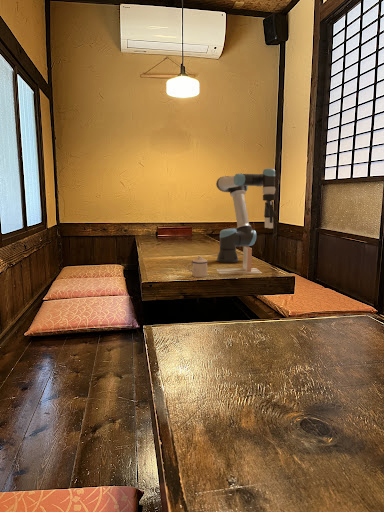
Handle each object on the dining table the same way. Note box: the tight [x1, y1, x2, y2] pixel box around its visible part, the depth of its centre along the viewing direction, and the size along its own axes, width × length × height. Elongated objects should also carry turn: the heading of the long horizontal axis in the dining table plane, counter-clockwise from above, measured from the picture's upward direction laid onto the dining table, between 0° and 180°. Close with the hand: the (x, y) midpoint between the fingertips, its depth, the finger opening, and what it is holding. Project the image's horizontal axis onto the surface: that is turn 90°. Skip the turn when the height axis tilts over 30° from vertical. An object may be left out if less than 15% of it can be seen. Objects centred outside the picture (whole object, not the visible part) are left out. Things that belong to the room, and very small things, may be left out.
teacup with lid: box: [186, 255, 209, 278], centre depth 214 cm, size 12×9×12 cm
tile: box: [242, 246, 253, 271], centre depth 225 cm, size 10×3×14 cm, turn 4°
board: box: [216, 267, 263, 275], centre depth 226 cm, size 20×26×1 cm
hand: (268, 228), depth 230 cm, fingers open, 13 cm apart
